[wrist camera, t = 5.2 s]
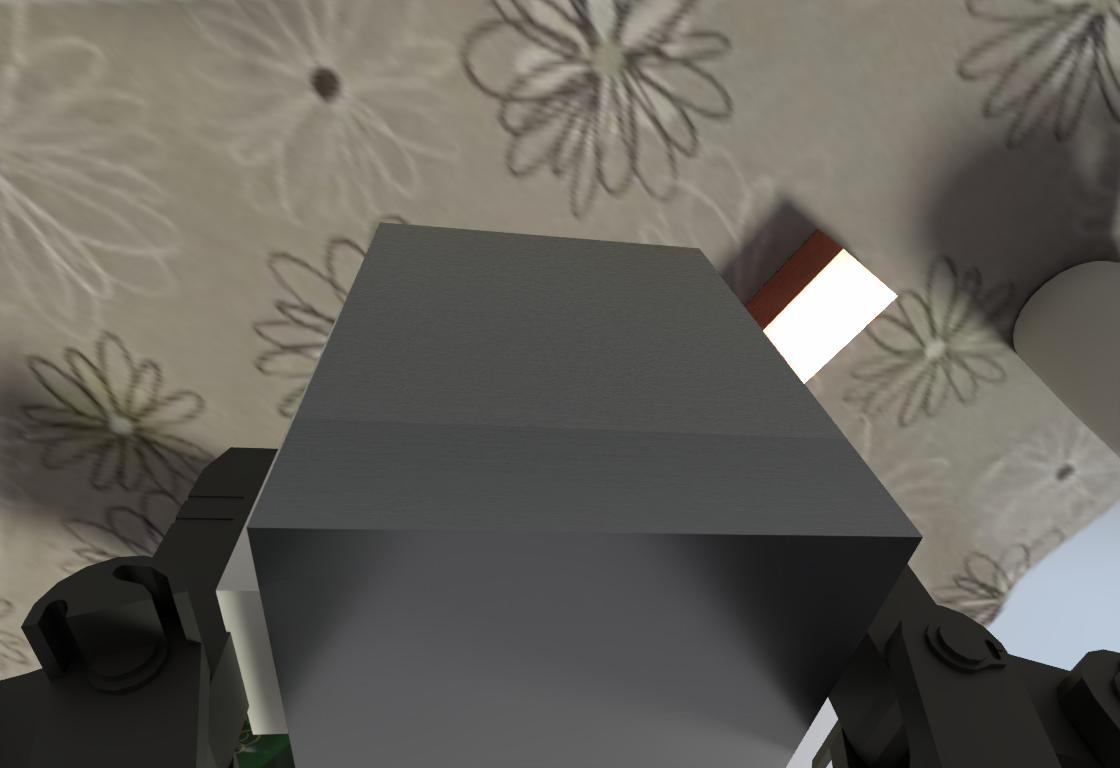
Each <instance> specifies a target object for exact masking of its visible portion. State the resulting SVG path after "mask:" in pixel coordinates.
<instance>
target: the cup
mask: <svg viewBox="0 0 1120 768" xmlns="http://www.w3.org/2000/svg"><path fill="white" fill-rule="evenodd" d="M1013 342H1014V348H1015V350H1016V352H1017V353H1018V355H1019V357H1020V358H1021V359H1022V360H1023V361H1024V362H1025V363H1026V364H1027V365H1028V366H1029V367H1030V368H1031V369H1032V370H1033V372H1034V373H1035V374H1036V375H1037V376H1038V377H1039V378H1040V379H1041V380H1042V381H1043V382H1044V383H1045V384H1046V385H1047V386H1048V387H1049V388H1050V389H1051V390H1052V391H1053V393H1054V394H1055V395H1056V396H1057V397H1058V398H1059V399H1060V400H1061V401H1062V402H1063V403H1064V404H1065V405H1066V406H1067V407H1068V408H1069V409H1070V410H1071V411H1072V412H1073V413H1074V414H1075V415H1076V416H1077V417H1078V418H1079V419H1080V420H1081V421H1082V422H1083V423H1084V424H1085V425H1086V426H1087V427H1088V428H1089V429H1090V430H1091V431H1093V432H1094V433H1095V434H1096V435H1097V436H1098V437H1099V438H1100V439H1101V440H1102V441H1103V442H1104V443H1105V444H1106V445H1107V446H1108V447H1109V448H1110V449H1111V450H1112V451H1113V452H1114V453H1115V454H1117V455H1118V456H1119V457H1120V262H1119V263H1115V262H1111V261H1092V262H1088V263H1084V264H1080V265H1077V266H1074V267H1072V268H1070V269H1068V270H1066V271H1064V272H1061V273H1060V274H1058V275H1057V276H1055V277H1054V278H1052V279H1051V280H1049V281H1048V282H1047V283H1045V284H1044V285H1043V286H1042V287H1041V288H1040V289H1039V290H1038V291H1037V292H1036V293H1035V294H1034V295H1033V296H1032V297H1031V298H1030V299H1029V301H1028V302H1027V303H1026V305H1025V306H1024V307H1023V309H1022V310H1021V312H1020V315H1019V317H1018V319H1017V321H1016V323H1015V328H1014V333H1013Z"/></svg>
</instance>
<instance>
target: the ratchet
mask: <svg viewBox="0 0 1120 768" xmlns="http://www.w3.org/2000/svg"><path fill="white" fill-rule="evenodd" d="M896 297H897V295H895V294H894V293H893V292H892V291H891V290H890V289H889V288H887V287H886V286H885V285H884V284H883V283H882V282H881V281H879V280H878V279H877V278H876V277H875V276H874V275H873V274H871V273H870V272H869V271H868V270H867V269H866V268H865V267H863V266H862V265H861V264H860V263H859V262H858V261H857V260H855V259H854V258H853V257H852V256H851V255H850V254H849V253H847V252H846V251H845V250H844V249H843V248H841V247H840V246H839V245H838V244H836V243H835V242H834V241H833V240H831V239H830V238H829V237H827V236H826V235H825V234H824V233H822V232H821V231H820V230H817V231H816V232H815V233H814V234H813V235H812V236H811V237H810V238H809V239H808V240H807V241H806V242H805V244H804V245H803V246H802V247H801V248H800V249H799V250H798V251H797V252H796V253H795V254H794V255H793V256H792V257H791V258H790V259H789V260H788V261H787V262H786V264H785V265H784V266H783V267H782V268H781V269H780V270H779V271H778V272H777V273H776V274H775V275H774V276H773V277H772V278H771V279H770V280H769V281H768V282H767V284H766V285H765V286H764V287H763V288H762V289H761V290H760V291H759V292H758V293H757V294H756V295H755V296H754V297H753V298H752V299H751V300H750V301H749V302H748V304H747V305H746V306H745V308H746V309H747V311H748V312H749V313H750V314H751V316H752V317H753V318H754V320H755V321H756V322H757V323H758V325H759V326H760V327H761V329H762V330H763V331H764V333H765V334H766V335H767V336H768V338H769V339H770V340H771V342H772V343H773V344H774V345H775V347H776V348H777V349H778V351H779V352H780V353H781V354H782V356H783V357H784V358H785V360H786V361H787V362H788V363H789V365H790V366H791V367H792V369H793V370H794V371H795V373H796V374H797V375H798V376H799V378H800V379H801V380H802V382H803V383H805V382H806V381H807V380H808V379H809V378H810V377H812V376H813V375H814V374H815V373H816V372H817V371H818V370H819V369H820V368H821V367H822V366H823V365H824V364H825V363H826V362H828V361H829V360H830V359H831V358H832V357H833V356H834V355H835V354H836V353H837V352H838V351H839V350H840V349H841V348H842V347H844V346H845V345H846V344H847V343H848V342H849V341H850V340H851V339H852V338H853V337H854V336H855V335H856V334H857V333H858V332H860V331H861V330H862V329H863V328H864V327H865V326H866V325H867V324H868V323H869V322H870V321H871V320H872V319H873V318H874V317H876V316H877V315H878V314H879V313H880V312H881V311H882V310H883V309H884V308H885V307H886V306H887V305H888V304H889V303H890V302H892V301H893V300H894V299H895V298H896Z"/></svg>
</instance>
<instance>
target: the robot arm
mask: <svg viewBox="0 0 1120 768" xmlns="http://www.w3.org/2000/svg"><path fill="white" fill-rule="evenodd" d="M341 311H342V309H340V311H339V313H338V315H337V318H336V320H335V322H334V324H333V327H332V329H331V331H330V333H329V336H328V338H327V340H326V342H325V345H324V347H323V349H322V351H321V354H320V356H319V358H318V360H317V363H316V365H315V367H314V370H313V372H312V374H311V376H310V379H309V381H308V383H307V385H306V388H305V390H304V392H303V394H302V397H301V399H300V401H299V403H298V406H297V408H296V410H295V412H294V415H293V417H292V419H291V422H290V424H289V426H288V428H287V431H286V433H285V435H284V437H283V440H282V442H281V444H280V446H279V449H265V448H233V447H231V448H229V449H228V450H227V451H226V452H224V453H223V454H222V455H221V456H219V457H218V458H217V459H216V460H214V461H213V462H212V463H211V464H209V465H208V466H207V467H206V468H204V469H203V471H202V473H201V474H200V476H199V478H198V480H197V481H196V483H195V485H194V487H193V488H192V490H191V492H190V494H189V495H188V501H185V502H184V504H183V506H182V507H181V509H180V511H179V513H178V514H177V516H176V522H175V523H172V525H171V527H170V528H169V530H168V532H167V533H166V535H165V537H164V539H163V540H162V542H161V544H160V546H159V547H158V549H157V551H156V553H155V554H154V556H153V557H149V556H131V557H117V558H113V559H110V560H107V561H104V562H100V563H97V564H94V565H91V566H87V567H85V568H83V569H82V570H80V571H78V572H76V573H74V574H73V575H71V576H69V577H67V578H65V579H64V580H62V581H60V582H58V583H57V584H56V585H55V586H53V587H52V588H51V589H50V590H49V591H48V592H47V593H46V594H45V595H44V596H42V597H41V598H40V599H39V600H38V601H37V602H36V603H35V604H34V605H33V607H32V609H31V611H30V612H29V614H28V616H27V618H26V619H25V621H24V623H23V624H22V626H21V628H22V630H23V632H24V634H25V636H26V637H27V639H28V641H29V643H30V645H31V647H32V649H33V651H34V653H35V654H36V656H37V658H38V660H39V662H40V664H41V666H42V669H39V670H36V671H33V672H30V673H27V674H23V675H20V676H16V677H12V678H8V679H5V680H1V681H0V768H239V766H238V762H237V758H236V754H235V749H236V746H237V743H238V739H239V736H240V733H241V730H242V727H243V724H244V721H245V718H246V715H247V713H248V717H249V721H250V725H251V729H252V732H253V735H259V734H288V729H287V724H286V719H285V714H284V709H283V704H282V699H281V695H280V690H279V685H278V680H277V675H276V670H275V665H274V660H273V655H272V651H271V646H270V641H269V636H268V631H267V626H266V621H265V616H264V611H263V606H262V602H261V597H260V592H259V587H258V582H257V577H256V572H255V567H254V562H253V557H252V553H251V548H250V543H249V538H248V533H247V528H246V527H247V525H248V523H249V520H250V518H251V516H252V514H253V511H254V509H255V507H256V505H257V502H258V500H259V498H260V495H261V493H262V491H263V489H264V486H265V484H266V482H267V479H268V477H269V475H270V473H271V470H272V468H273V466H274V463H275V461H276V459H277V457H278V454H279V452H280V450H281V447H282V445H283V443H284V441H285V438H286V436H287V434H288V431H289V429H290V427H291V425H292V422H293V420H294V418H295V416H296V413H297V411H298V409H299V406H300V404H301V402H302V400H303V397H304V395H305V393H306V390H307V388H308V386H309V384H310V381H311V379H312V377H313V374H314V372H315V370H316V368H317V365H318V363H319V361H320V358H321V356H322V354H323V352H324V349H325V347H326V345H327V342H328V340H329V338H330V336H331V333H332V331H333V329H334V327H335V324H336V322H337V320H338V317H339V315H340V313H341ZM828 698H829V700H830V702H831V704H832V706H833V708H834V710H835V712H836V715H837V717H838V721H837V722H836V724H835V725H834V727H833V729H832V730H831V732H830V733H829V735H828V736H827V738H826V740H825V741H824V743H823V745H822V746H821V748H820V749H819V751H818V752H817V754H816V756H815V757H814V759H813V760H812V768H826V767H827V765H828V764H829V762H830V761H831V759H832V765H833V768H1120V653H1117V652H1113V651H1108V650H1098V651H1092V652H1088V653H1087V654H1086V655H1085V656H1084V657H1083V658H1082V659H1081V660H1080V661H1079V662H1078V664H1077V665H1076V666H1075V667H1074V668H1073V669H1072V670H1071V671H1068V670H1064V669H1061V668H1057V667H1053V666H1050V665H1046V664H1042V663H1039V662H1035V661H1032V660H1028V659H1024V658H1021V657H1017V656H1013V655H1010V654H1008V653H1007V651H1006V650H1005V648H1004V647H1003V645H1002V643H1000V642H999V641H998V640H997V639H996V638H995V637H994V636H993V635H992V634H991V633H990V632H989V631H988V630H987V629H986V628H985V627H983V626H982V625H980V624H979V623H977V622H975V621H974V620H972V619H971V618H969V617H967V616H966V615H964V614H963V613H960V612H957V611H954V610H952V609H949V608H946V607H944V606H939V605H936V603H935V602H934V600H933V599H932V598H931V596H930V595H929V593H928V592H927V591H926V589H925V588H924V586H923V585H922V584H921V582H920V581H919V579H918V578H917V577H916V575H915V574H914V572H913V571H912V570H911V568H910V567H909V565H908V564H907V565H906V566H905V568H904V570H903V571H902V573H901V575H900V576H899V578H898V580H897V581H896V583H895V585H894V587H893V588H892V590H891V592H890V593H889V595H888V597H887V598H886V600H885V602H884V603H883V605H882V607H881V608H880V610H879V612H878V613H877V615H876V617H875V618H874V620H873V622H872V623H871V625H870V627H869V628H868V630H867V632H866V634H865V635H864V637H863V639H862V640H861V642H860V644H859V645H858V647H857V649H856V650H855V652H854V654H853V655H852V657H851V659H850V660H849V662H848V664H847V665H846V667H845V669H844V670H843V672H842V674H841V675H840V677H839V679H838V681H837V682H836V684H835V686H834V687H833V689H832V691H831V692H830V694H829V696H828Z"/></svg>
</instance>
